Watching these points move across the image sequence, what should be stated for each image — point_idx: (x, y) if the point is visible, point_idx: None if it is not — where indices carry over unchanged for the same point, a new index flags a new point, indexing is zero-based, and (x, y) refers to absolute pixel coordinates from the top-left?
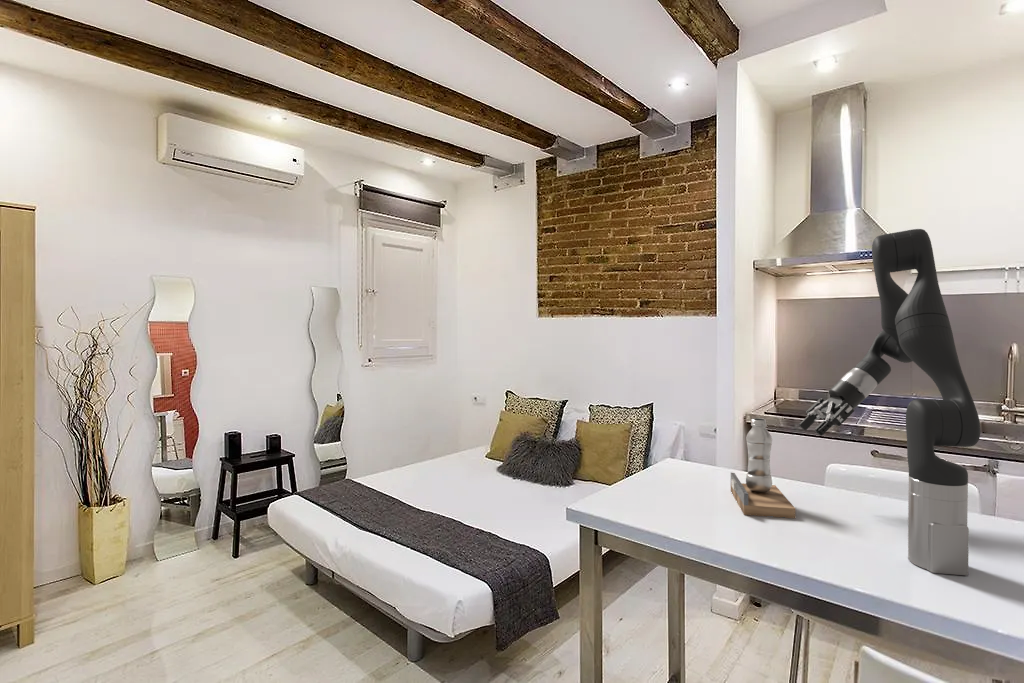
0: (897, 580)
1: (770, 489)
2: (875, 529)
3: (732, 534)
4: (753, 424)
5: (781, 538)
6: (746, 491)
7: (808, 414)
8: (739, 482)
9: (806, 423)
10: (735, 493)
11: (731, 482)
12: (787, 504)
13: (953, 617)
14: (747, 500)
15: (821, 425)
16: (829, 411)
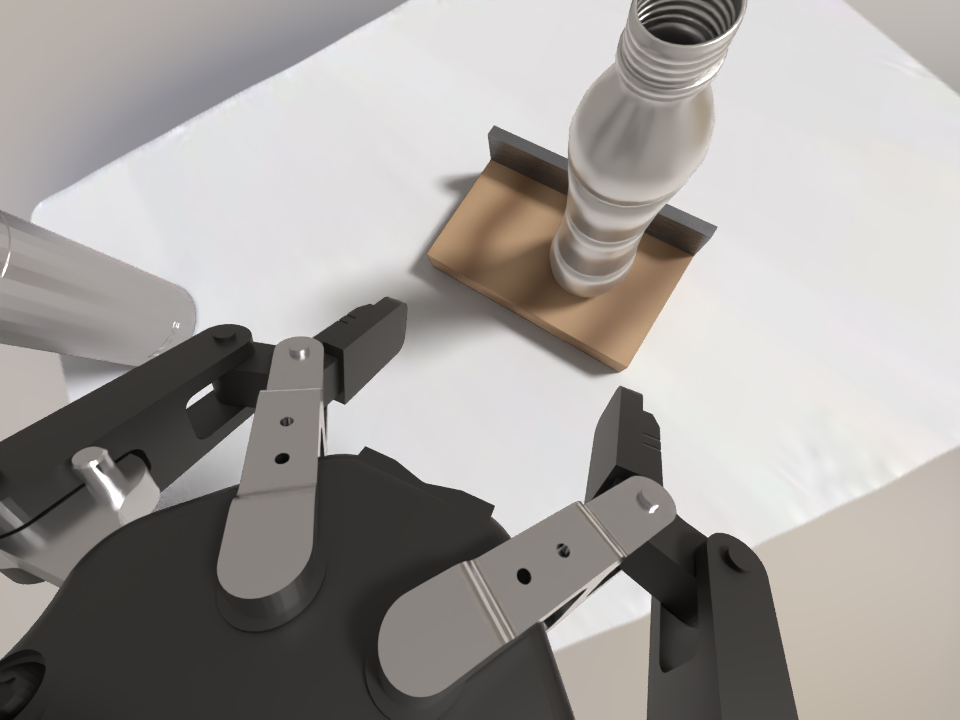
0: (164, 206)
1: (590, 315)
2: None
3: (415, 82)
4: (668, 3)
5: (360, 155)
6: (507, 142)
7: (643, 483)
8: None
9: (604, 435)
10: None
11: None
12: (458, 258)
13: (80, 181)
14: (490, 148)
15: (355, 322)
16: (268, 394)
